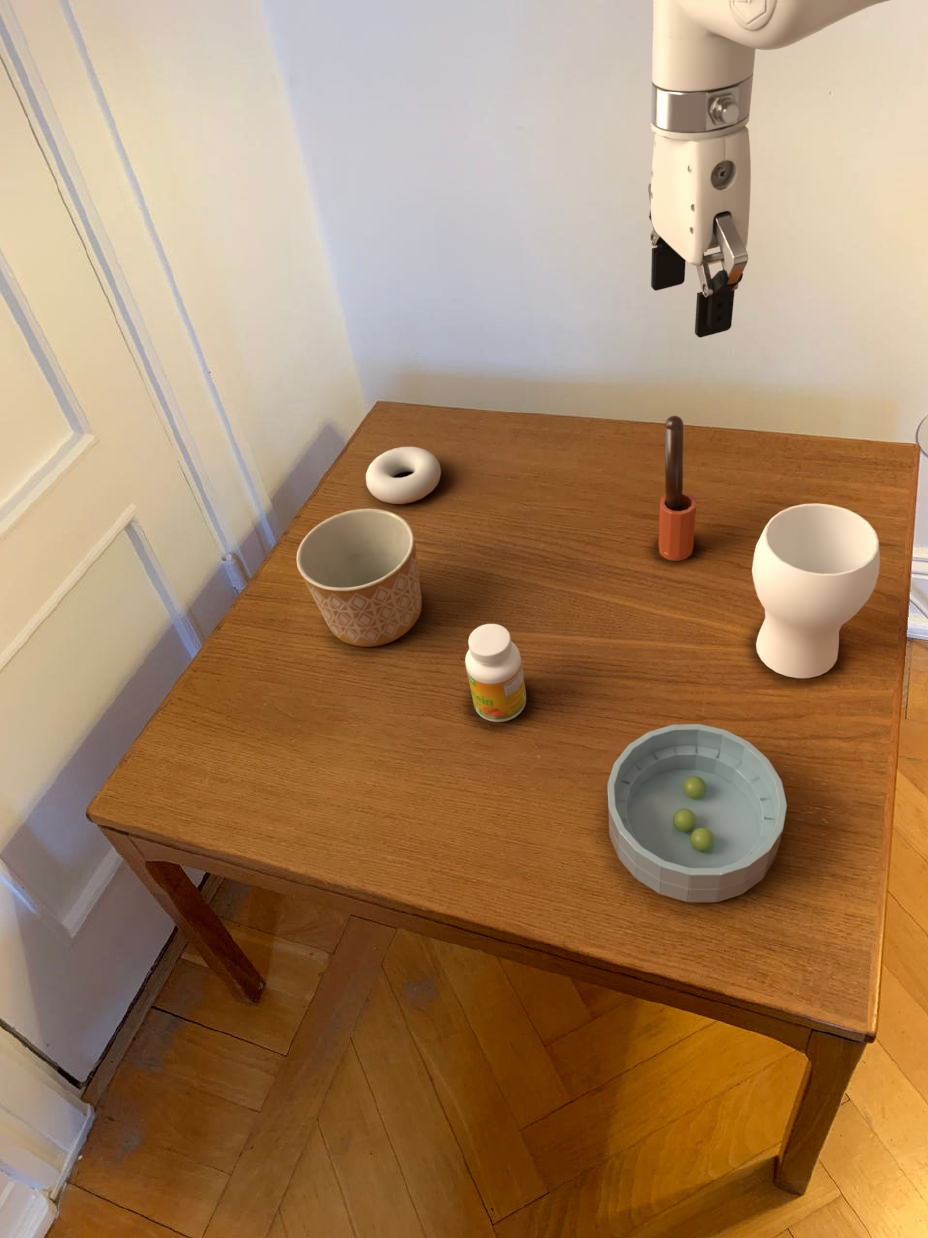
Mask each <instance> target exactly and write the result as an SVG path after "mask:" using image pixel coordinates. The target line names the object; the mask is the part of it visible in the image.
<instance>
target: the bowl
mask: <svg viewBox="0 0 928 1238" xmlns="http://www.w3.org/2000/svg"><path fill="white" fill-rule="evenodd" d="M691 776H697V777H700V778H701V779H703V781H704V782H705V784H706V792H705V794H704V795H703V796H702V797H701V798H699V799H691V798H689V797H688V796H686V794H685V793H684V791H683V783H684V781H685V780H686V779H687V778H688V777H691ZM606 785H607V786H606V787H607V788H606V789H607V815H608V817H607V818H608V834H609V836H608V837H609V839H610V841H611V843H612V846H613V848H614V852H615V853H616V855H617V857H618V859H619V861H620V862H621V864H623V866H624V867H625V868H626V869H627V870H628V872H630V874H631V875H632V876H633V877H634V879H636V880H637V881H638V882H640V883H642V884H643V885H644V886H646V887H648V888H649V889H651V890H653V891H654V892H656V893H657V894H659V895H661V896H665V897H669V898H671V899H675V900H678V901H681V902H685V903H719V902H722V901H725V900H728V899H729V900H730V899H732V898H735V897H738V896H741V895H743V894H744V893H746V892H747V891H748V890H750V889H752V888H753V887H754V886H755V885H756V884H758V883H759V882H761V881H762V880H763V879H764V878H765V876H766V874H767V873H768V871H769V869H770V868H771V866H772V865H773V863H774V862H775V860H776V858H777V855H778V852H779V851H778V850H779V847H780V842H781V839H782V835H783V831H784V828H785V821H786V815H787V810H788V803H787V797H786V793H785V789H784V784H783V781H782V779H781V777H780V776H779V774H778V772H777V771H776V769H775V767H774V766H773V764H772V762H771V761H770V759H769V758H768V757H766V755H764V753H762V752H761V751H760V750H759V749H758V748H757V747H755V746H754V745H753V744H752V743H751V742H750V741H748V740H747V739H744V738H742V737H740V736H738V735H737V734H734V733H732V732H730V731H728V730H726V729H723V728H720V727H716V726H710V725H706V724H701V723H684V724H670V725H666V726H664V727H663V726H662V727H661V728H656V729H653V730H650V731H648V732H646V733H644V734H643V735H641V736H639V738H636V739H635V740H633V741H632V742H630V743H629V744H628V745H627V746H626V748H625V749H624V750H623V751H622V752H621V754H620V755H619V756H618V758H617V759H616V760H615V761H614V763H613V766H612V768H611V772H610V775H609V778H608V780H607V784H606ZM679 809H689V810H691V811H692V812H693V813H694V814H695V816H696V819H697V823H696V826H695V828H694V829H693V830H692V831H690V832H681V831H679V830H677V829H676V828H675V826H674V824H673V816H674V814H675V812H676V811H678V810H679ZM698 828H706V829H708V830H710V831H711V832H712V833H713V835H714V837H715V844H714V847H713V848H712V849H711V850H710V851H708V852H699V851H697V850H696V849H694V847H693V846H692V844H691V841H690V837H691V834H692V832H693V831H694V830H696V829H698Z"/></svg>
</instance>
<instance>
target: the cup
mask: <svg viewBox="0 0 928 1238" xmlns="http://www.w3.org/2000/svg"><path fill="white" fill-rule="evenodd" d="M880 555H881V554H880V540H879V538H878V534H877V531H876V530H875V529H874V527H873V526H872V525H871V524H870V522H869V521H867V519H865V518H863V517H862V516H861V515H860V514H858V513H856V512H853V511H852V510H850V509H847V508H844V507H841V506H838V505H834V504H826V503H804V504H803V503H802V504H798V505H793V506H789V507H788V508H784V509H783V510H781V511H779V512H777V514H775V515H774V516H773V517H771V518H770V519H769V521H768V522H767V523H766V525H765V526H764V529H763V530H762V533H761V534H760V537H759V539H758V541H757V542H756V545H755V549H754V554H753V559H752V567H751V574H752V581H753V585H754V589H755V593H756V596H757V598H758V600H759V602H760V603H761V606H762V607H763V609H764V620H763V622H762V625H761V626H760V629H759V632H758V634H757V638H756V641H755V647H756V653H757V654H758V657H759V658H760V660H761V661H762V663H764V664H765V665H766V667H767V668H769V669H770V670H772V671H774V672H775V673H777V674H780V675H783V676H785V677H789V678H795V679H811V678H815V677H819V676H821V675H823V674H826V673H828V672H829V671H830V670H831V669H832V668H833V667H834V665H835V664H836V663H837V661H838V655H839V647H840V646H839V645H840V631H841V629H842V626H843V625H845V623H847V622H849V621H850V620H851V619H852V618H854V617H855V616H856V615H857V614H858V613H859V611H861V609H863V607H864V606H865V604H866V603H867V602H868V600H869V599H870V597H871V596H872V594H873V592H874V590H875V588H876V584H877V581H878V578H879V575H880V568H881V556H880Z"/></svg>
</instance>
